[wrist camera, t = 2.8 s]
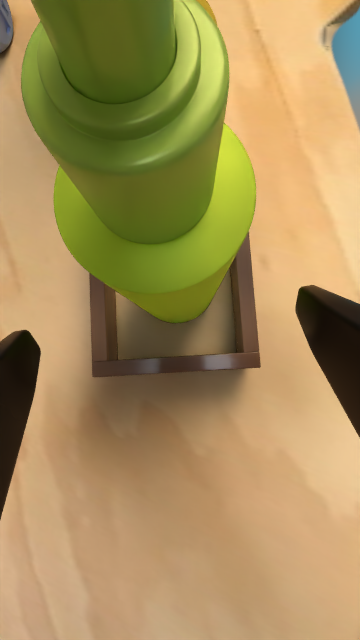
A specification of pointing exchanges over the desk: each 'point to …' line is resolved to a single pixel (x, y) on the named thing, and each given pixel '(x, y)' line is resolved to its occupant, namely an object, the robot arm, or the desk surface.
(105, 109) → the soap dispenser
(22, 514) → the desk surface
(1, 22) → the decorative dice
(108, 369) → the brown wooden tray
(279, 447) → the desk surface
